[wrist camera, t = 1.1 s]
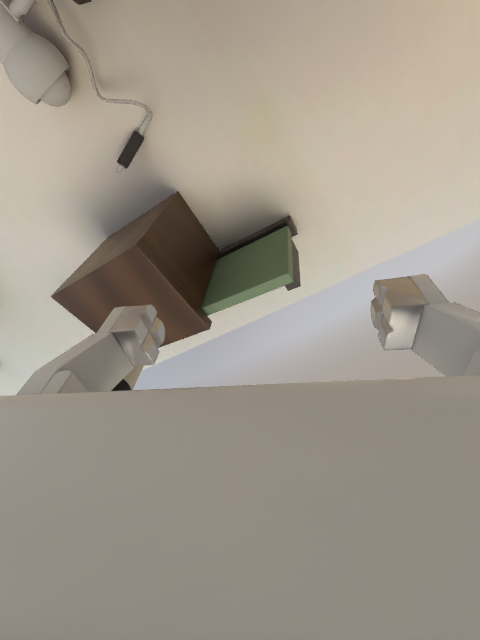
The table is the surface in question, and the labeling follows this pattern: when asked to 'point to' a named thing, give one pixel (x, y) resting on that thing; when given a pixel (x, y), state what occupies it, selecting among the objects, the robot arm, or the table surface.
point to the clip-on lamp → (48, 66)
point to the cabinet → (153, 270)
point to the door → (253, 271)
